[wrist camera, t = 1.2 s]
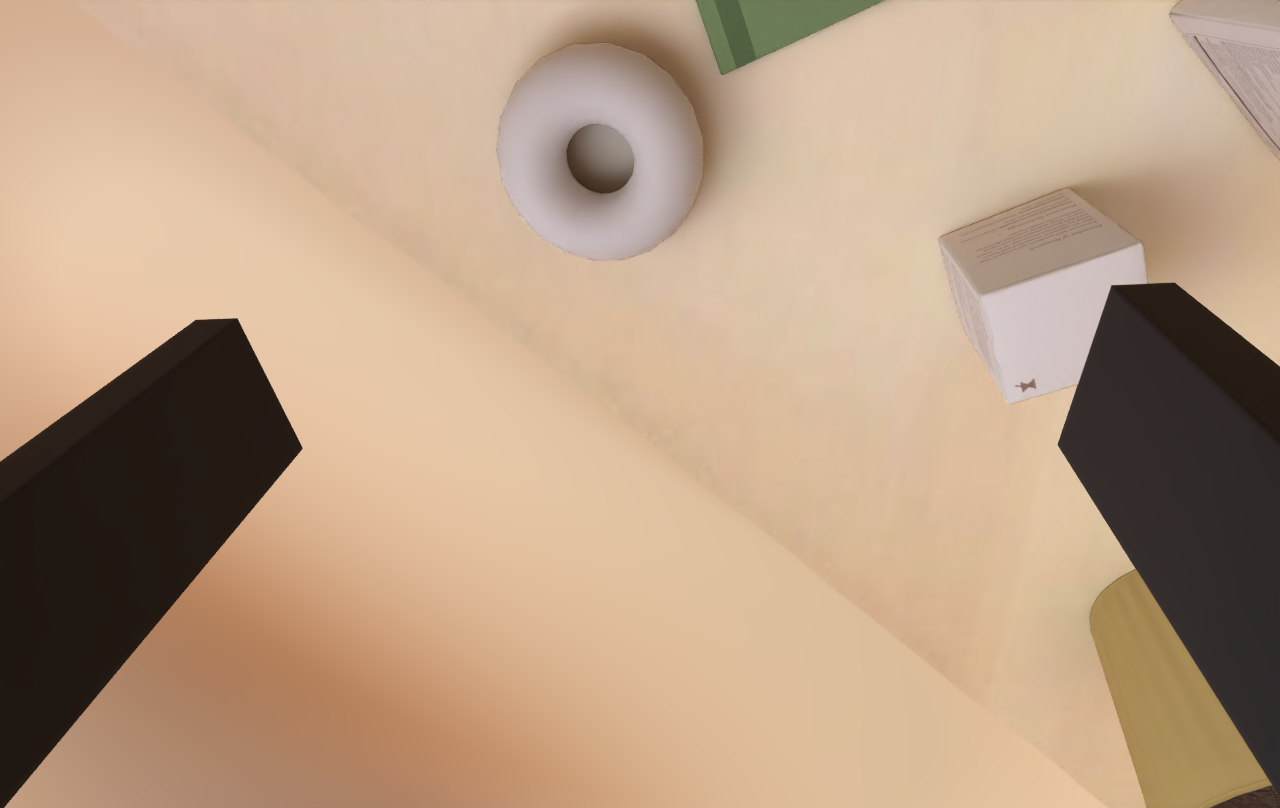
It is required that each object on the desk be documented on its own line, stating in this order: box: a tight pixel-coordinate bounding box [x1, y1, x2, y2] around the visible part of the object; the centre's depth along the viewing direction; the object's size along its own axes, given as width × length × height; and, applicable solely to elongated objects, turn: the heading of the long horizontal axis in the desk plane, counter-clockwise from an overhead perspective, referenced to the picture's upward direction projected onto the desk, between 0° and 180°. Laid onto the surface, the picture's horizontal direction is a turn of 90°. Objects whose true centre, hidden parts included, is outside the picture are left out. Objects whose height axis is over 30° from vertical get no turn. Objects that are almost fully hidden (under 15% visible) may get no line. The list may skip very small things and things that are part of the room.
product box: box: [939, 188, 1149, 404], centre depth 31 cm, size 6×6×7 cm
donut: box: [496, 43, 704, 260], centre depth 32 cm, size 10×3×10 cm
